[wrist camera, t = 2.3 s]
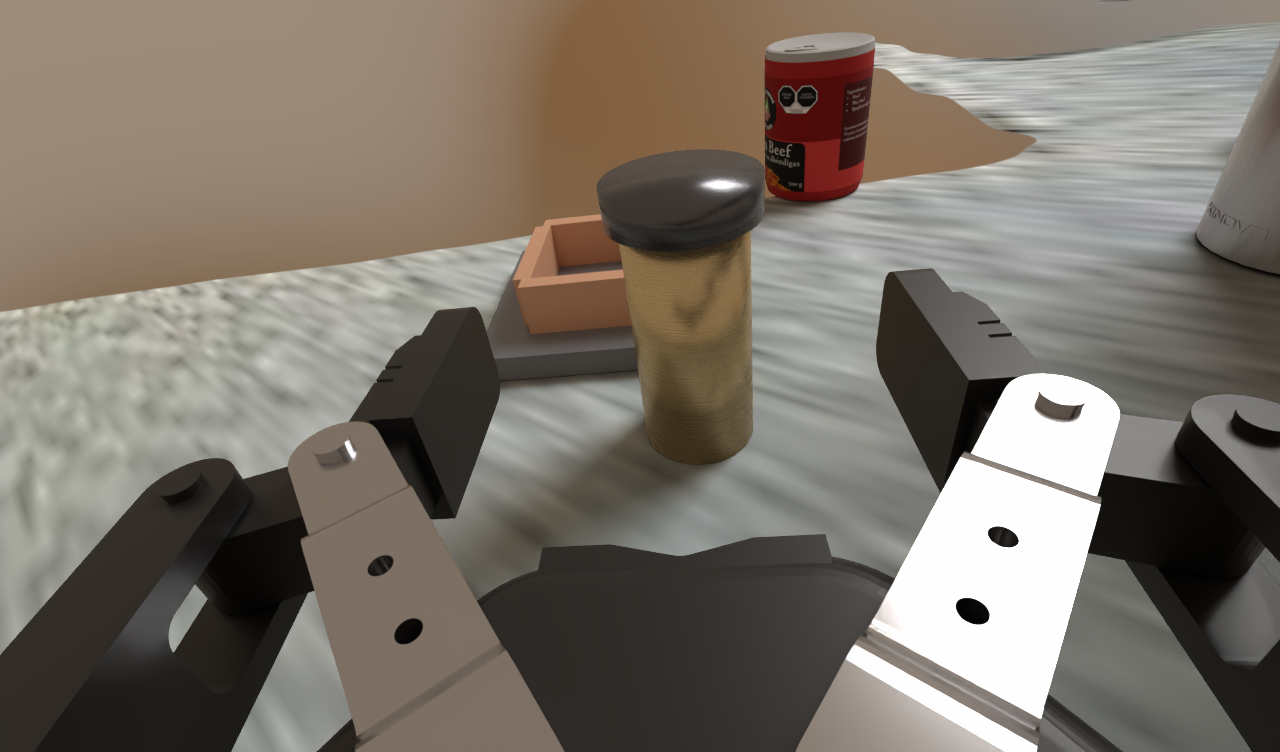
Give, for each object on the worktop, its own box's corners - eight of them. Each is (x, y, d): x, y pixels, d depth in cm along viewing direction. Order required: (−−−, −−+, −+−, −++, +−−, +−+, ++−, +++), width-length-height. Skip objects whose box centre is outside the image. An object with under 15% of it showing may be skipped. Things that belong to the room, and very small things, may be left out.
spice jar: (755, 383, 31) (753, 142, 24) (772, 468, 26) (776, 197, 19) (639, 392, 32) (603, 159, 24) (634, 476, 27) (588, 216, 20)
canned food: (756, 178, 55) (754, 42, 49) (843, 166, 55) (853, 27, 48) (777, 209, 49) (779, 57, 42) (876, 194, 49) (893, 40, 42)
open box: (715, 251, 44) (712, 190, 41) (732, 362, 33) (729, 288, 30) (527, 269, 45) (512, 211, 43) (481, 382, 34) (457, 313, 31)
